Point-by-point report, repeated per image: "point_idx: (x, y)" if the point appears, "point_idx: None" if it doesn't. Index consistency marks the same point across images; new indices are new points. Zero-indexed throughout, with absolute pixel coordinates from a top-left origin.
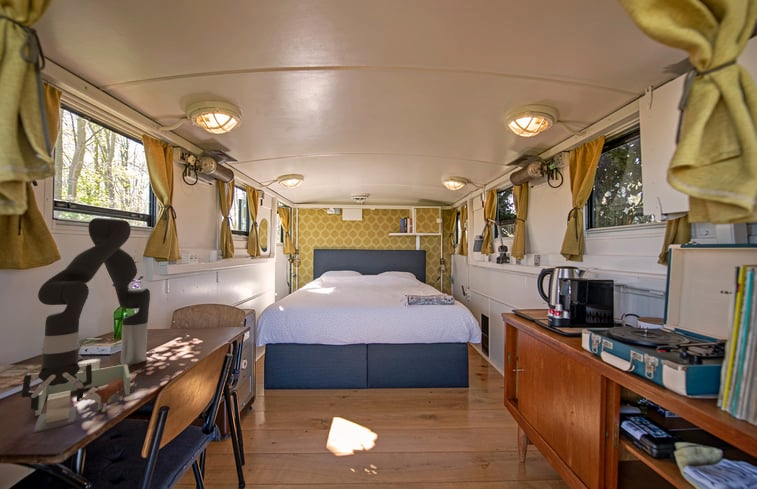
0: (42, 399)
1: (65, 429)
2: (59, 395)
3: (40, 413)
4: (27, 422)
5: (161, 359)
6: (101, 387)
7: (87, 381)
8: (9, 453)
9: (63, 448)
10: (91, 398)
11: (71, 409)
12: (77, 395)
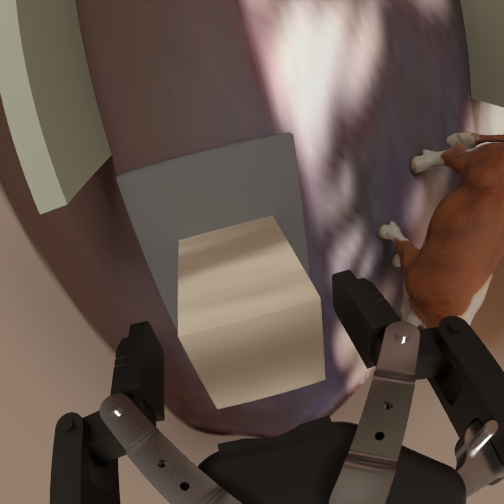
0: (63, 70)
1: None
2: (265, 371)
3: (106, 137)
4: (99, 239)
5: None
6: None
7: (436, 383)
8: (191, 425)
9: None
10: None
11: (273, 179)
12: (352, 336)
